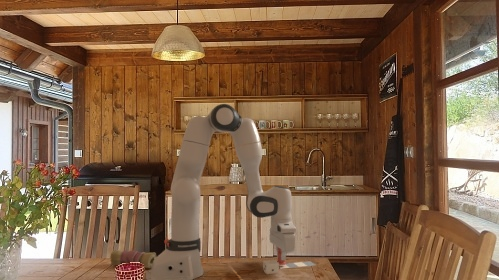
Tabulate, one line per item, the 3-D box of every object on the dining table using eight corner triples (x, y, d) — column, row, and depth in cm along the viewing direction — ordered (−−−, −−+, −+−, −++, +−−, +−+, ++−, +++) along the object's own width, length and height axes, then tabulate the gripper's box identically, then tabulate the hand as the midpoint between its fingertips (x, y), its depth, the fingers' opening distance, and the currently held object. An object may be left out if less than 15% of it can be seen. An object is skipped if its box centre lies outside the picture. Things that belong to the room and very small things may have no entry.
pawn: (278, 265, 157) (278, 247, 157) (275, 262, 160) (275, 245, 161) (287, 264, 158) (287, 246, 158) (283, 262, 161) (283, 244, 162)
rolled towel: (161, 262, 166) (123, 258, 172) (156, 248, 163) (118, 244, 170) (151, 274, 159) (112, 270, 166) (147, 260, 156) (107, 256, 163)
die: (262, 273, 153) (266, 277, 148) (262, 260, 154) (266, 264, 148) (275, 272, 155) (279, 276, 150) (275, 259, 155) (279, 263, 150)
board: (280, 271, 156) (280, 268, 156) (275, 267, 161) (275, 264, 161) (316, 267, 160) (316, 265, 160) (310, 263, 166) (310, 261, 166)
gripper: (266, 221, 169) (266, 252, 168) (283, 229, 149) (282, 265, 148) (279, 220, 170) (279, 251, 170) (298, 229, 151) (297, 264, 150)
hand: (281, 258), depth 159 cm, fingers closed on pawn, 3 cm apart
